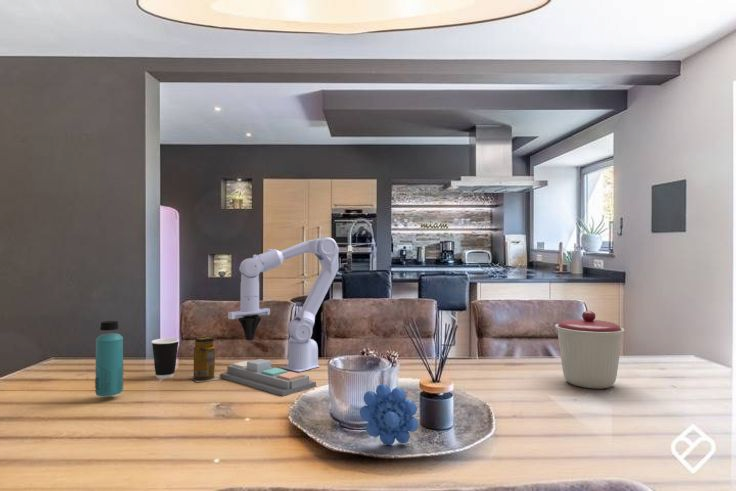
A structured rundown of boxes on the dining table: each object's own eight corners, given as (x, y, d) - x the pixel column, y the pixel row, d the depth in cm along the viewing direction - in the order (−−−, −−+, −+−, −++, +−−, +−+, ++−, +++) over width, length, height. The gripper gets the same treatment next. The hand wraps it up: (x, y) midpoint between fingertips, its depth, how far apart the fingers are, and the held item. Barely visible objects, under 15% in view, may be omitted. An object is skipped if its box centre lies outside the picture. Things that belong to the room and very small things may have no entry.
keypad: (252, 369, 150) (252, 360, 150) (315, 386, 132) (316, 374, 132) (220, 377, 141) (220, 366, 141) (283, 396, 122) (283, 384, 122)
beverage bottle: (129, 396, 122) (129, 320, 122) (105, 404, 116) (106, 323, 116) (112, 393, 124) (113, 318, 125) (88, 400, 118) (89, 321, 119)
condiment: (211, 373, 146) (212, 335, 146) (221, 379, 139) (221, 339, 139) (187, 377, 141) (188, 337, 142) (196, 383, 135) (196, 341, 135)
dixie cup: (184, 373, 145) (184, 338, 145) (168, 380, 137) (169, 343, 137) (161, 372, 146) (161, 337, 147) (144, 379, 139) (145, 342, 139)
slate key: (260, 366, 142) (260, 358, 142) (271, 369, 139) (271, 361, 139) (246, 369, 138) (246, 361, 138) (257, 372, 135) (257, 364, 135)
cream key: (246, 368, 146) (246, 360, 146) (256, 371, 143) (256, 363, 143) (233, 371, 142) (233, 363, 142) (242, 374, 139) (242, 366, 139)
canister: (609, 397, 121) (608, 316, 122) (543, 383, 135) (543, 310, 135) (635, 385, 133) (634, 311, 134) (572, 372, 147) (572, 306, 147)
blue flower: (361, 456, 86) (361, 391, 86) (358, 441, 93) (358, 381, 93) (423, 453, 87) (423, 389, 88) (415, 439, 94) (415, 379, 94)
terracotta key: (291, 380, 133) (291, 371, 133) (303, 383, 130) (303, 374, 130) (277, 383, 129) (277, 375, 129) (289, 387, 126) (289, 378, 126)
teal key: (275, 375, 137) (275, 367, 137) (286, 378, 134) (286, 370, 134) (261, 379, 134) (261, 370, 134) (272, 382, 130) (272, 373, 130)
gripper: (260, 294, 155) (260, 335, 154) (222, 297, 143) (222, 341, 143) (274, 295, 150) (274, 337, 150) (236, 298, 139) (235, 344, 139)
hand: (249, 339), depth 146 cm, fingers closed
